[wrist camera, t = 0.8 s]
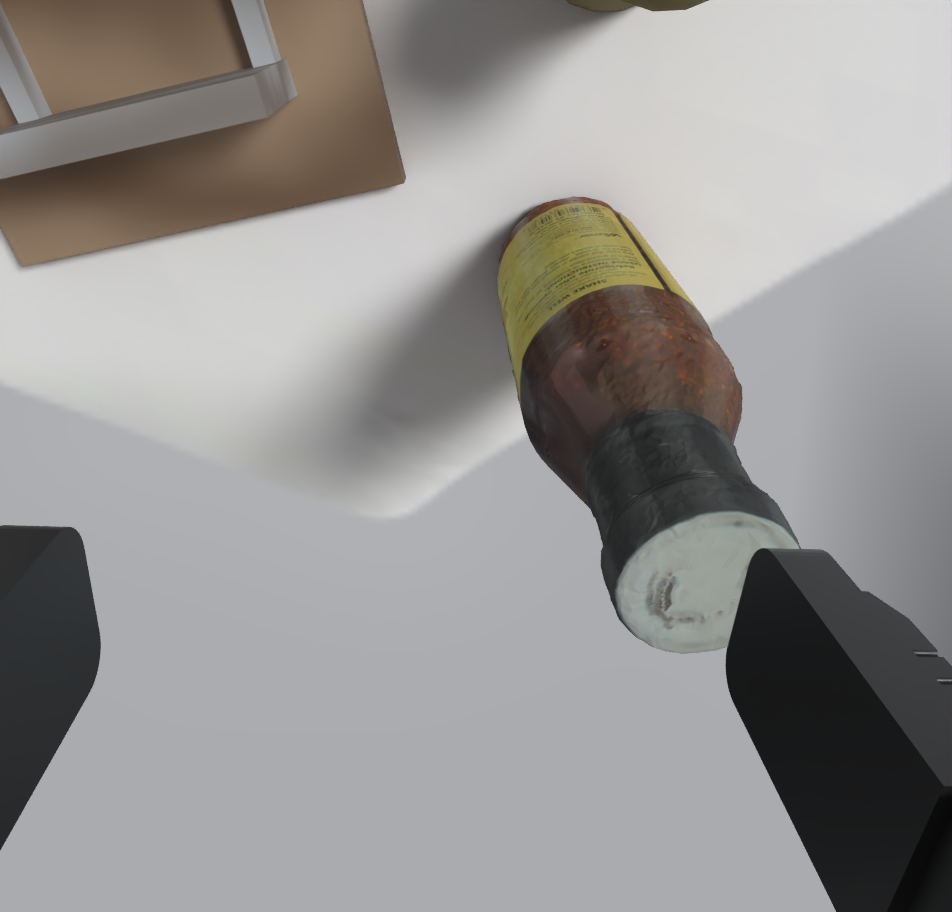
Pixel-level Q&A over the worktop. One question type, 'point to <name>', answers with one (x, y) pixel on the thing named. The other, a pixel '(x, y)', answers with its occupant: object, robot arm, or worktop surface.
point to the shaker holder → (181, 116)
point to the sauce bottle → (635, 419)
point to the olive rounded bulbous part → (599, 3)
